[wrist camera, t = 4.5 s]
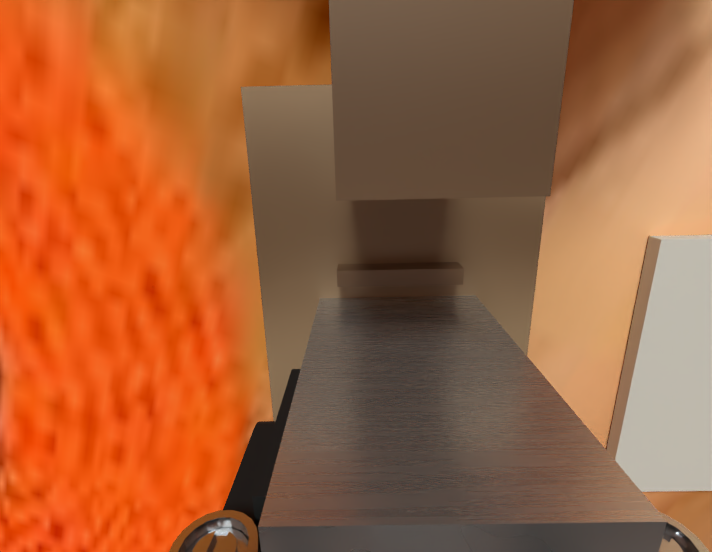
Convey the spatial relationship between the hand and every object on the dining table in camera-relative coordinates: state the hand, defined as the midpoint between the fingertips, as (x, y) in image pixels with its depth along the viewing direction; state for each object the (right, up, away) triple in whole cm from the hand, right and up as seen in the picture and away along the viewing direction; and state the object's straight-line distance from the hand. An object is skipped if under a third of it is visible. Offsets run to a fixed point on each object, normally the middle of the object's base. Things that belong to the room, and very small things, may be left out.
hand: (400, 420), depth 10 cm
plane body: (0, 0, +6) cm, 6 cm away
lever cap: (0, 0, +1) cm, 1 cm away
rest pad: (+14, 0, +6) cm, 15 cm away
